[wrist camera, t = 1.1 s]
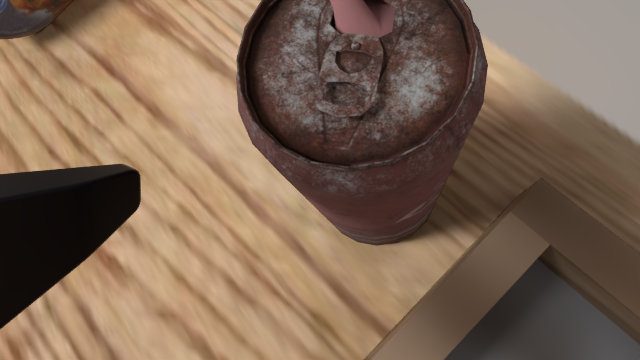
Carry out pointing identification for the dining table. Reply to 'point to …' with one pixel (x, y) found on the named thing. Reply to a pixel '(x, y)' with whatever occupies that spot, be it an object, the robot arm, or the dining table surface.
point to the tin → (28, 16)
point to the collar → (529, 292)
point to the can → (362, 104)
